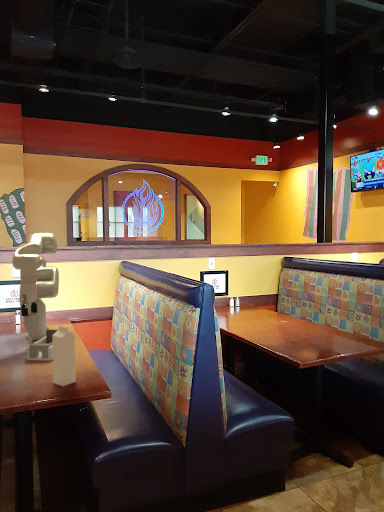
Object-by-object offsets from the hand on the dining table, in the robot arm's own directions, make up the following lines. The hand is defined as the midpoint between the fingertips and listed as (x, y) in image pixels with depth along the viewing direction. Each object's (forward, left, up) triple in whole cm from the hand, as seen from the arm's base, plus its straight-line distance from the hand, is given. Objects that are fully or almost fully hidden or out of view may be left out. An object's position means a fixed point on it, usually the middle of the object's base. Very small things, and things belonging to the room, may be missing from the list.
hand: (29, 314), depth 204 cm
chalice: (-1, 0, -18) cm, 18 cm away
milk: (+42, +35, -18) cm, 58 cm away
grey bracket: (+5, +12, -18) cm, 22 cm away
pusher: (+6, +12, -17) cm, 21 cm away
